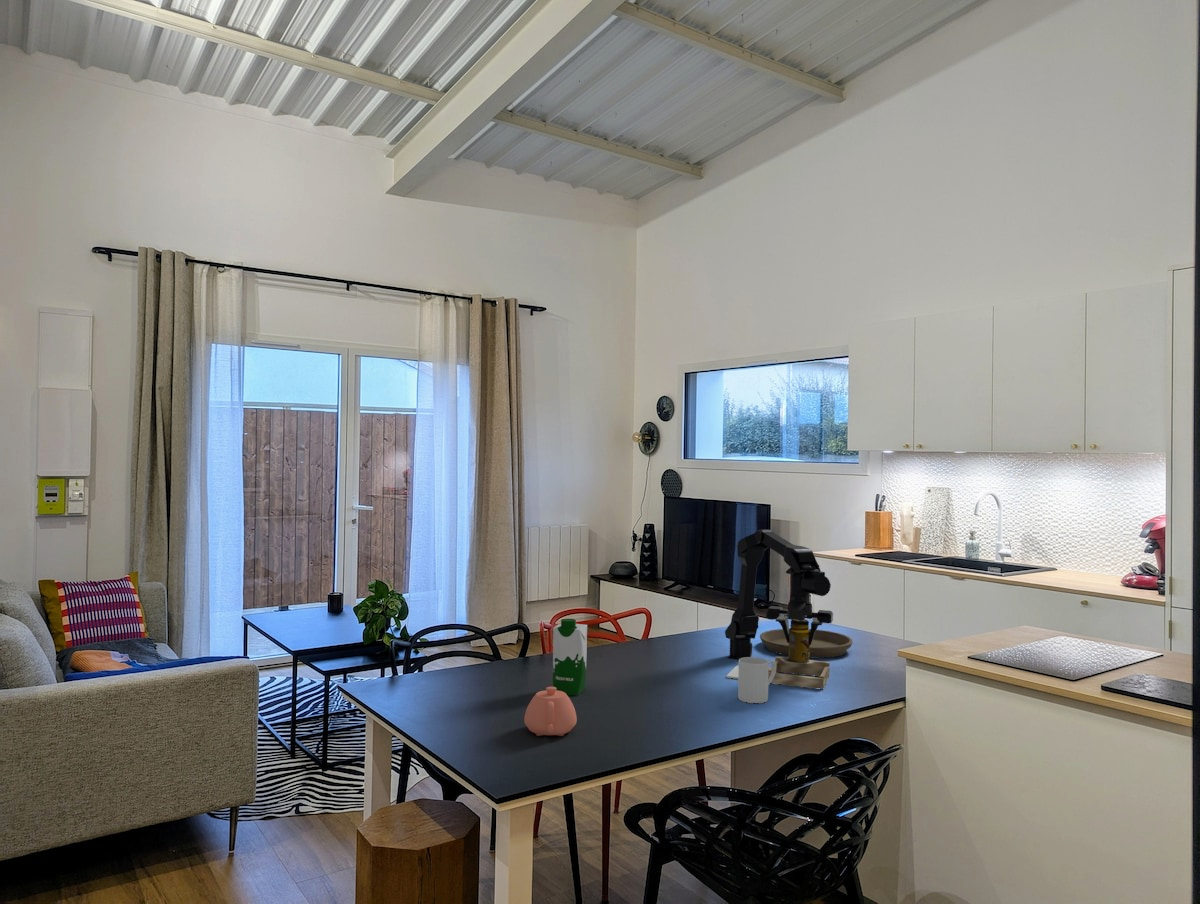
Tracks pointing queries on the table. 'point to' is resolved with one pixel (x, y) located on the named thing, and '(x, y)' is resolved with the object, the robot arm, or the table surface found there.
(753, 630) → the robot arm
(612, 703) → the table surface
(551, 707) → the sugar bowl
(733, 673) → the grey mat
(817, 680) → the pine frame
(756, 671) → the mug
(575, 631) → the milk carton
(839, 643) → the plant saucer
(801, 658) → the condiment
